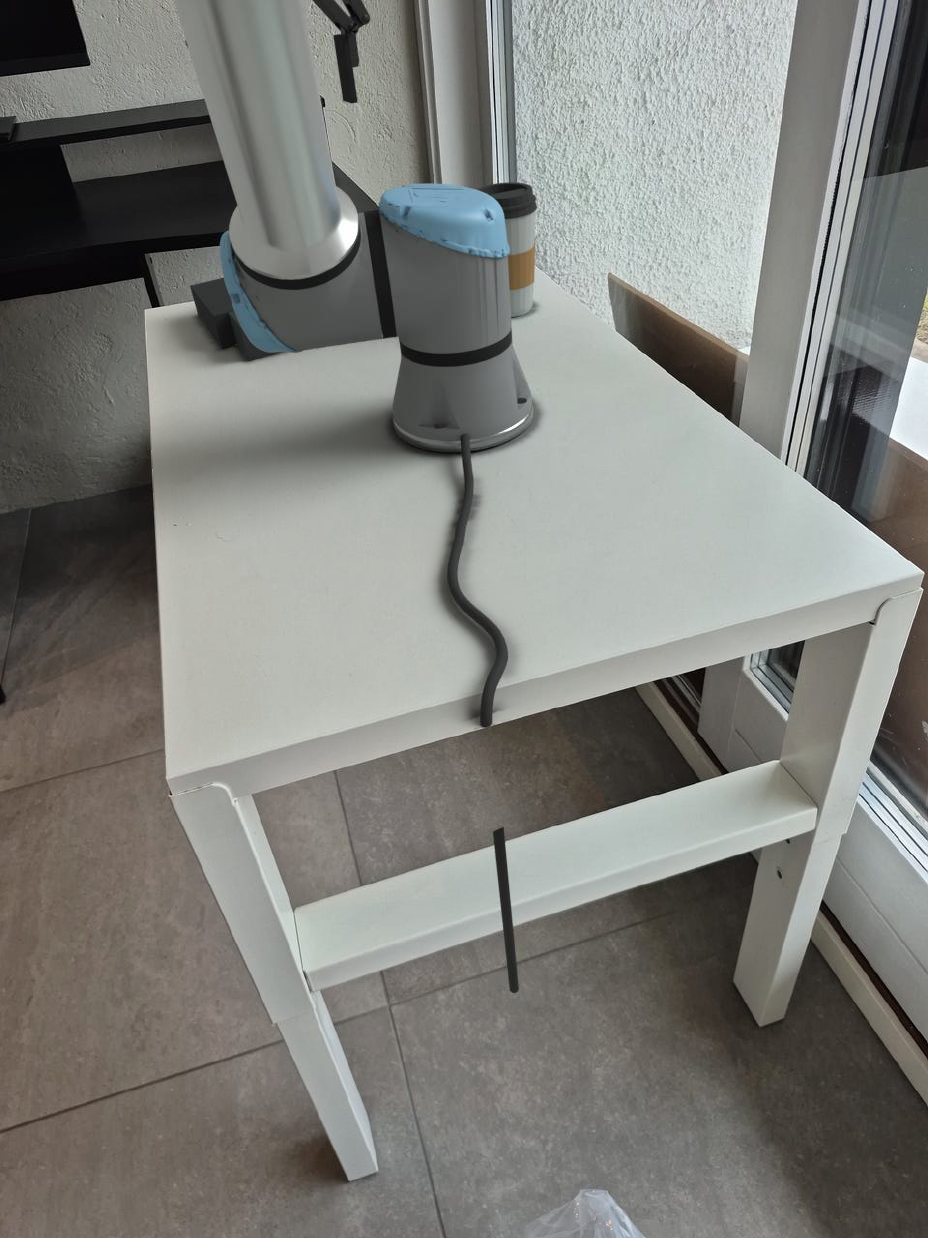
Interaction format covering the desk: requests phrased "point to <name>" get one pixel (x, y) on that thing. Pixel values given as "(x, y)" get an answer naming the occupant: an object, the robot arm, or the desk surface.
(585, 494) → the desk surface
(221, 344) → the notched pad
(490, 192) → the coffee cup
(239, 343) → the pad
